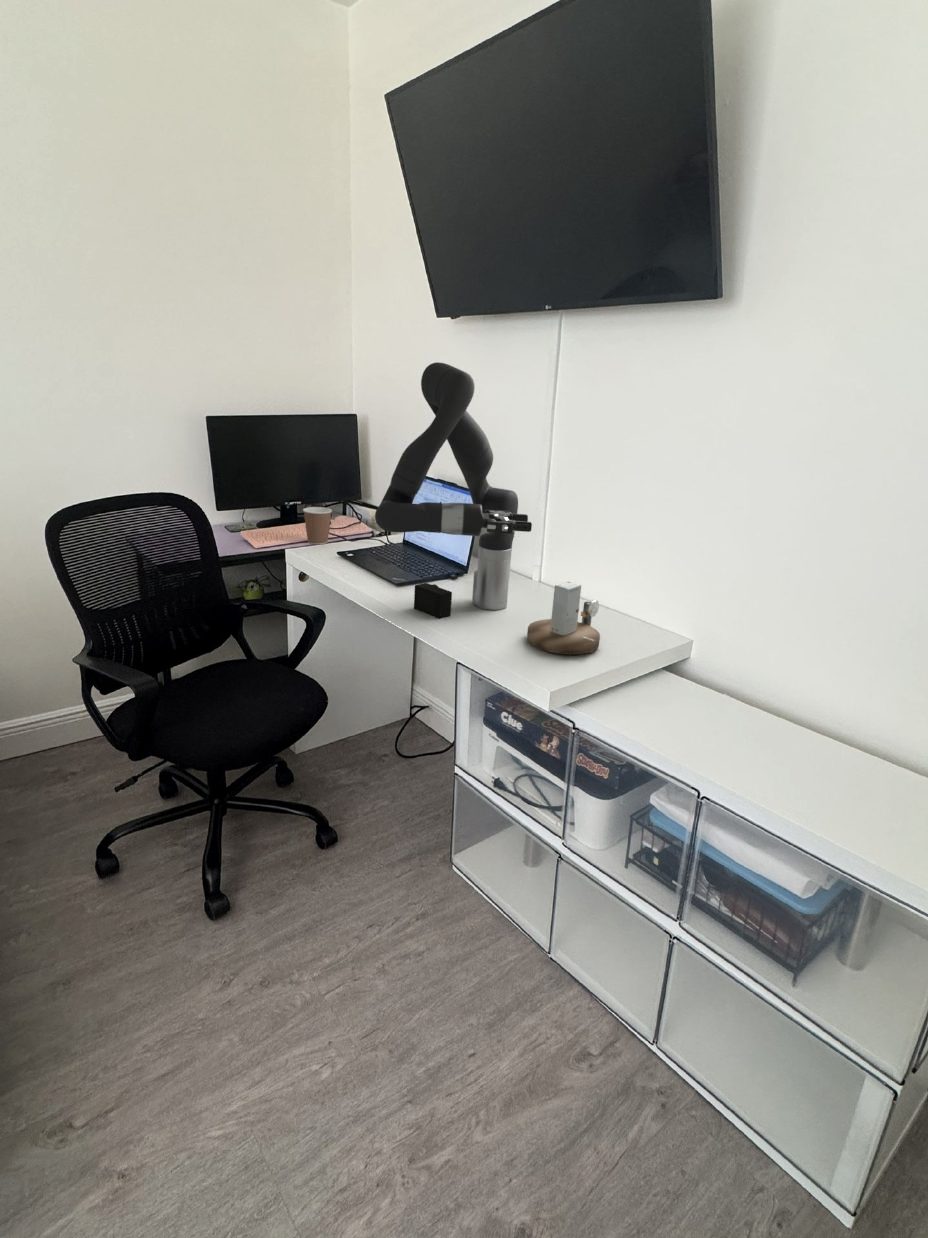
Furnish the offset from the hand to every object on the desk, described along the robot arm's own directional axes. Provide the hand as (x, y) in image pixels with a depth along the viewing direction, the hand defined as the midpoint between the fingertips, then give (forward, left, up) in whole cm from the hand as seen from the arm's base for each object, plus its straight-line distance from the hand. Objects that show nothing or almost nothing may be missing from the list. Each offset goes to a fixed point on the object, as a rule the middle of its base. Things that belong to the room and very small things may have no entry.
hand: (529, 522), depth 165 cm
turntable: (+9, +7, -30) cm, 32 cm away
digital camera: (-28, 0, -30) cm, 42 cm away
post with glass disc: (+9, +19, -30) cm, 36 cm away
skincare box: (+8, +7, -27) cm, 29 cm away
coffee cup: (-107, +26, -30) cm, 115 cm away
